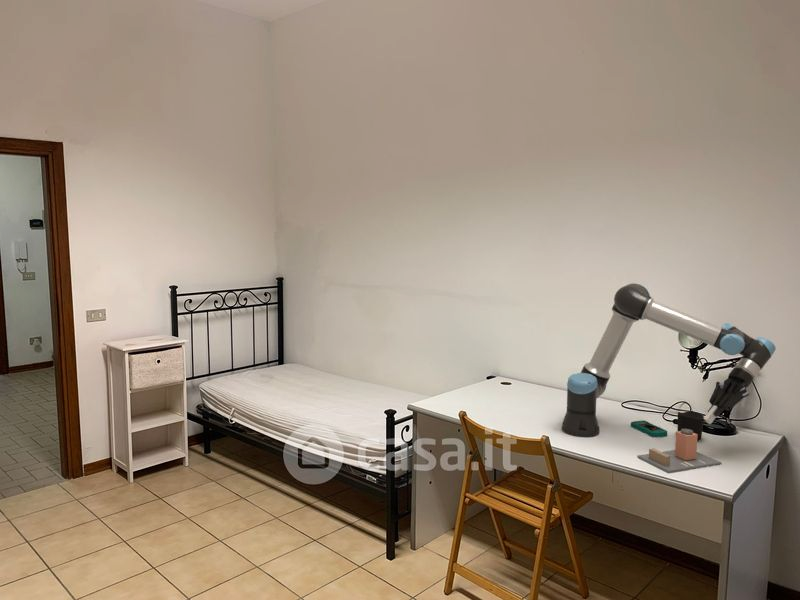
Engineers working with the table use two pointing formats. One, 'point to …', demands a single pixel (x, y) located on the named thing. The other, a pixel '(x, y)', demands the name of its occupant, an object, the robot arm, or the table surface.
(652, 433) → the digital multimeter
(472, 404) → the table surface
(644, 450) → the table surface
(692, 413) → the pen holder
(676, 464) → the plate
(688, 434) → the pink capped canister
